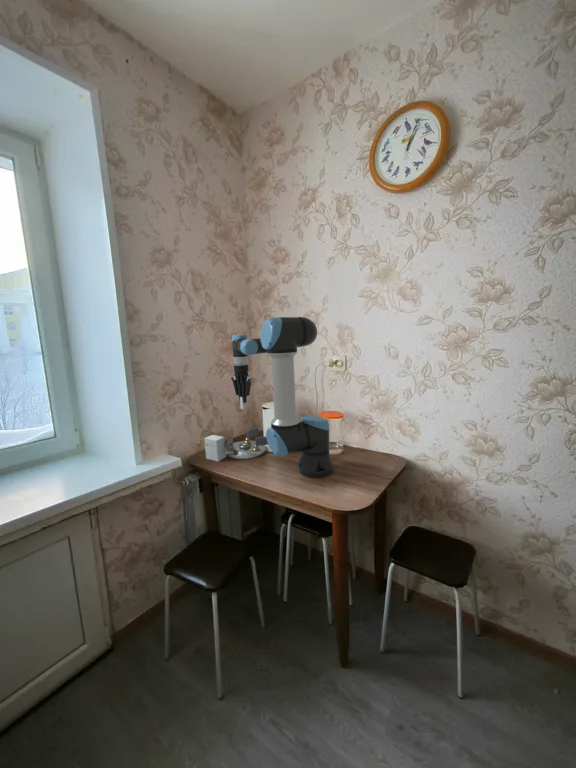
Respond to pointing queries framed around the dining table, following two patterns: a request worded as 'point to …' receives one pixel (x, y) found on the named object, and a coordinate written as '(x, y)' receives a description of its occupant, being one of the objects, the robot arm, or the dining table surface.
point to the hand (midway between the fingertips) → (243, 408)
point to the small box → (215, 448)
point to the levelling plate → (245, 450)
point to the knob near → (260, 443)
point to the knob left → (229, 445)
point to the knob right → (251, 434)
